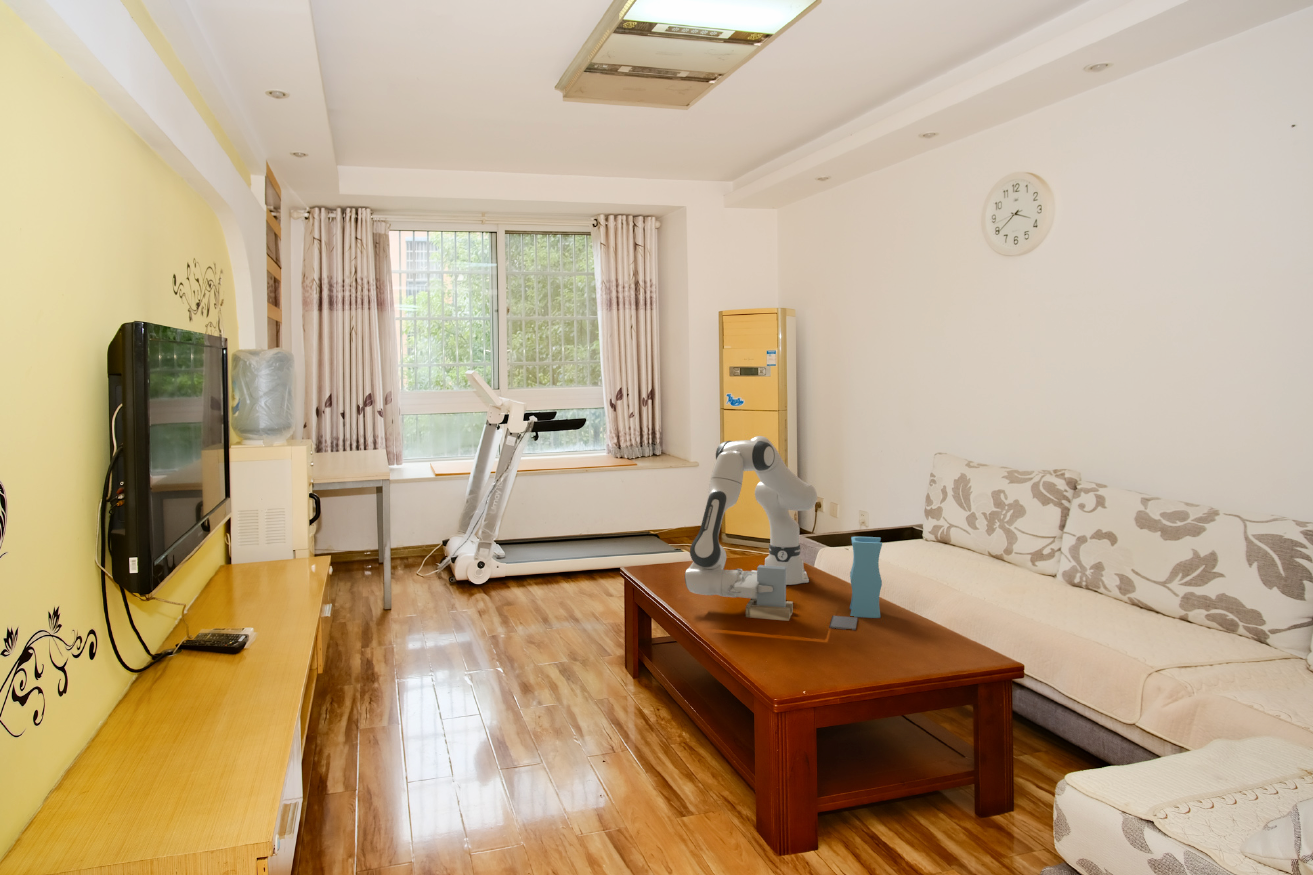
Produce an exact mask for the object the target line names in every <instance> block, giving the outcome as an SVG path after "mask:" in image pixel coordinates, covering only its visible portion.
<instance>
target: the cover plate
mask: <svg viewBox="0 0 1313 875" xmlns="http://www.w3.org/2000/svg"><path fill="white" fill-rule="evenodd" d="M756 569H757V570H756V571H757V582H759V585H762V586H768V585H772V586H773V591H772V592H762V593H761V592H759V593H758V594H757V605H761V606H774V607H786V600H787V599H786V598H787V585H786V567H780V566H765V564H764V565H763V564H759V565H758V566H757V568H756Z"/></svg>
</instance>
